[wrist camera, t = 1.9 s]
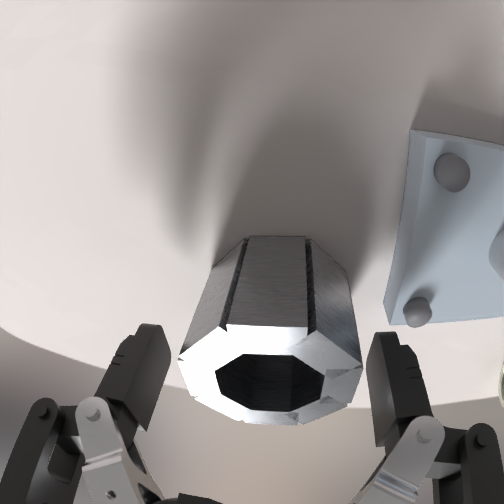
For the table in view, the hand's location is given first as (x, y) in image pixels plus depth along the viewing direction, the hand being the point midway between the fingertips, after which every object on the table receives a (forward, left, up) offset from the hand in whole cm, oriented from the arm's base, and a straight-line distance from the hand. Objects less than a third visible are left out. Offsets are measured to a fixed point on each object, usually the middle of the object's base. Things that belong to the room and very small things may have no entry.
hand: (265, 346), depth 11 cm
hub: (0, 0, -3) cm, 3 cm away
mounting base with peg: (-10, -3, -3) cm, 11 cm away
